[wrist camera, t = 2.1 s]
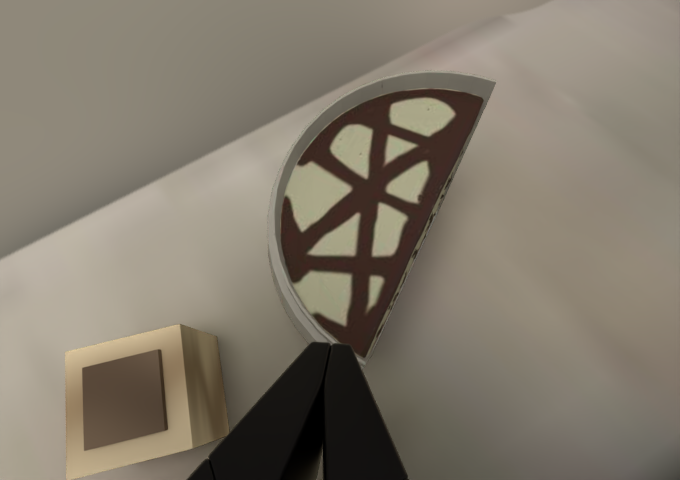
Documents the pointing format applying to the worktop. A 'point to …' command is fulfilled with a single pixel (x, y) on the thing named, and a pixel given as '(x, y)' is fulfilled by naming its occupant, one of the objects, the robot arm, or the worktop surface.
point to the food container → (366, 200)
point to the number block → (142, 399)
